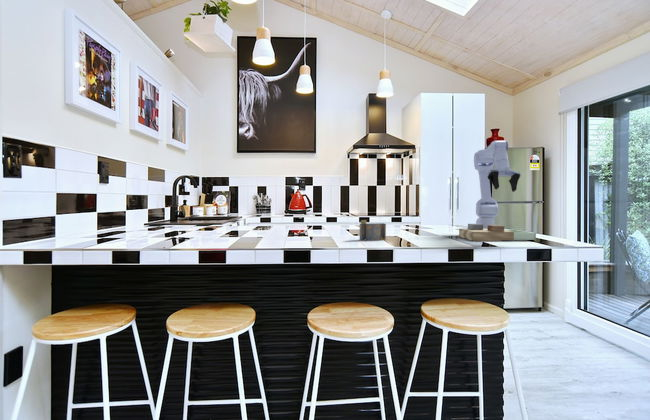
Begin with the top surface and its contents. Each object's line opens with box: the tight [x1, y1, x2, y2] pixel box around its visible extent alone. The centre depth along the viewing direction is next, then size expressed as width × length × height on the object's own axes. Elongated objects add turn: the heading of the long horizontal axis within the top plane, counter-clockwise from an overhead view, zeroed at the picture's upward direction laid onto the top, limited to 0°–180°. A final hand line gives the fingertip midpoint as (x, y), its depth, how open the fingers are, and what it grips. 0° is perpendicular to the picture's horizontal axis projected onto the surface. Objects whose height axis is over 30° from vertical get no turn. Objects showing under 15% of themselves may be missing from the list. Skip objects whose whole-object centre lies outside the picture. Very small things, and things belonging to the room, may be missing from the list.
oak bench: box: [458, 228, 514, 242], centre depth 159 cm, size 15×18×4 cm
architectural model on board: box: [359, 219, 387, 241], centre depth 153 cm, size 11×3×10 cm, turn 98°
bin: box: [505, 229, 537, 242], centre depth 159 cm, size 15×10×4 cm, turn 2°
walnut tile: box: [488, 224, 505, 232], centre depth 155 cm, size 5×5×2 cm
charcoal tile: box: [467, 223, 483, 230], centre depth 162 cm, size 5×5×2 cm
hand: (505, 189), depth 147 cm, fingers open, 7 cm apart
